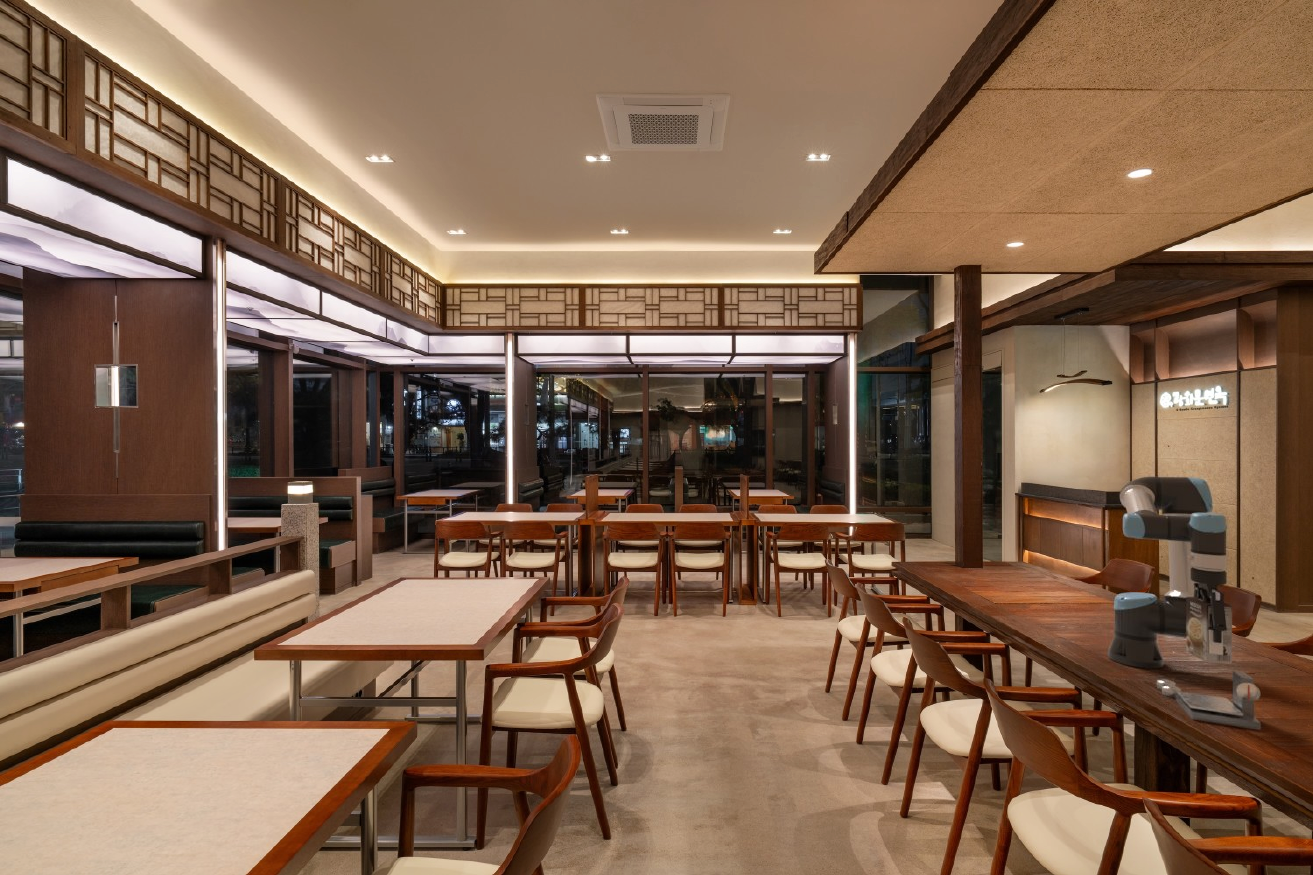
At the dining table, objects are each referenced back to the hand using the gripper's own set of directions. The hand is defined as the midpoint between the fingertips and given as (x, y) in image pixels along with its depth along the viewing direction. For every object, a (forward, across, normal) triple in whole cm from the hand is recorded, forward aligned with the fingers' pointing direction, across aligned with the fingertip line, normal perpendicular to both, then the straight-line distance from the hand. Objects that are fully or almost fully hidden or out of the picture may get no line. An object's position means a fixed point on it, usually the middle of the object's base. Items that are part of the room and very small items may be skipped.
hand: (1208, 647), depth 170 cm
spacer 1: (+18, -16, -6) cm, 25 cm away
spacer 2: (+18, -11, -6) cm, 22 cm away
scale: (+18, 0, +2) cm, 18 cm away
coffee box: (+3, 0, 0) cm, 3 cm away
